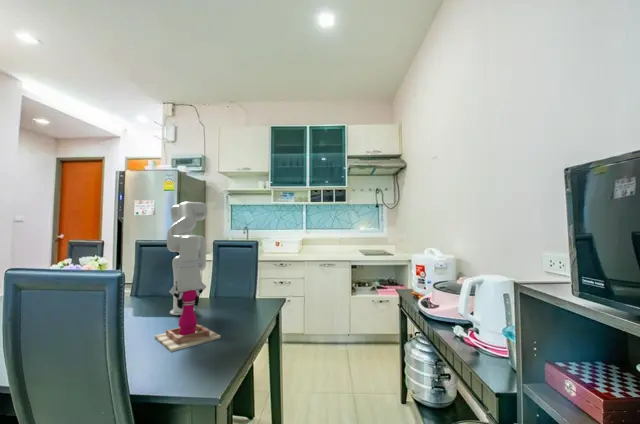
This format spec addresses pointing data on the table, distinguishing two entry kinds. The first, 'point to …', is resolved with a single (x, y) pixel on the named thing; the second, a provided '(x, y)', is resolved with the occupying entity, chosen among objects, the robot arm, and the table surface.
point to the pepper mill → (188, 314)
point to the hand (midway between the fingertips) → (188, 306)
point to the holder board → (185, 338)
